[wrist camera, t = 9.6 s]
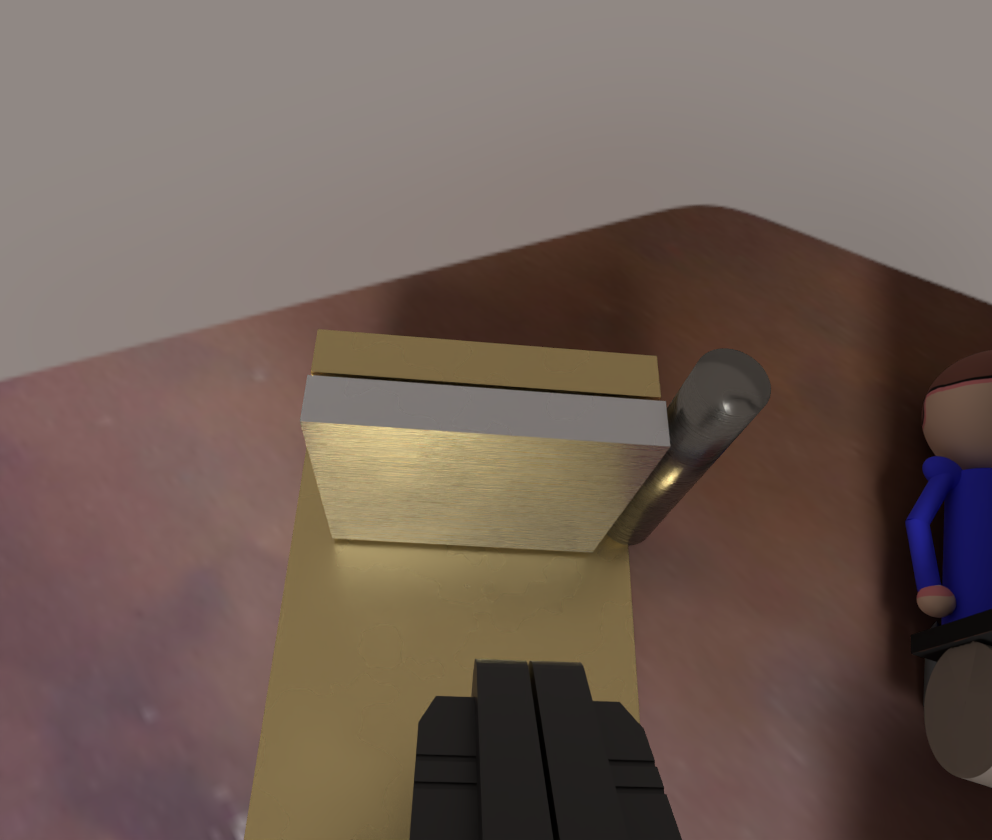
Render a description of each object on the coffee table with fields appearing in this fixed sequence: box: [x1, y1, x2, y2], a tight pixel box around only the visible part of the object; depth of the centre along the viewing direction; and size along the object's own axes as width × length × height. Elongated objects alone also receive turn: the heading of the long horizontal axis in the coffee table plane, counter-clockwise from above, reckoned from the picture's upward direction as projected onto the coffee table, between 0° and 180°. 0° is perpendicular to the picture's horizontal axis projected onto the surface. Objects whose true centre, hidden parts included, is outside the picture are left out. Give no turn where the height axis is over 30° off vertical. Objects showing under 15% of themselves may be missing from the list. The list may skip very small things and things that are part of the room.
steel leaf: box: [300, 375, 670, 553], centre depth 20 cm, size 8×1×8 cm, turn 89°
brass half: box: [244, 329, 771, 840], centre depth 19 cm, size 12×15×10 cm
